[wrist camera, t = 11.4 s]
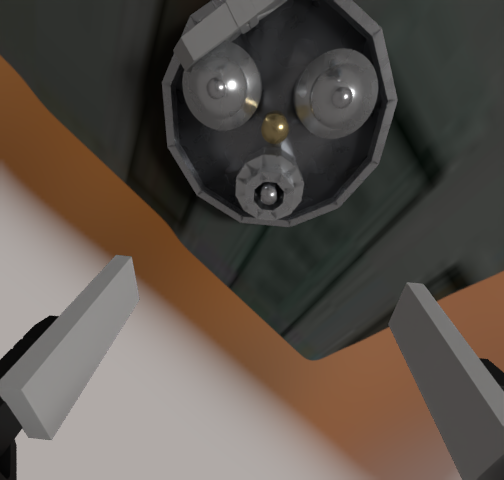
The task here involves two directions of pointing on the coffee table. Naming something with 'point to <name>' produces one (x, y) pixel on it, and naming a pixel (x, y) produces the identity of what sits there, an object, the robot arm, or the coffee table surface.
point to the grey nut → (269, 170)
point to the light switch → (221, 28)
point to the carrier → (284, 105)
